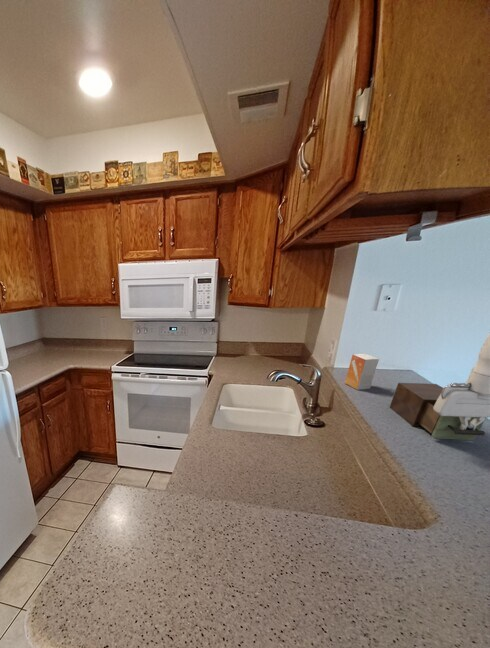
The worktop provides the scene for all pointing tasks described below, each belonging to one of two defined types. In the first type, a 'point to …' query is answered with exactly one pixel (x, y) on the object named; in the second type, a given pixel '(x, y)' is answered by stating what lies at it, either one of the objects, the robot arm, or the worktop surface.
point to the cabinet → (413, 400)
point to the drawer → (445, 425)
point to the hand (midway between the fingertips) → (466, 429)
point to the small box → (361, 371)
